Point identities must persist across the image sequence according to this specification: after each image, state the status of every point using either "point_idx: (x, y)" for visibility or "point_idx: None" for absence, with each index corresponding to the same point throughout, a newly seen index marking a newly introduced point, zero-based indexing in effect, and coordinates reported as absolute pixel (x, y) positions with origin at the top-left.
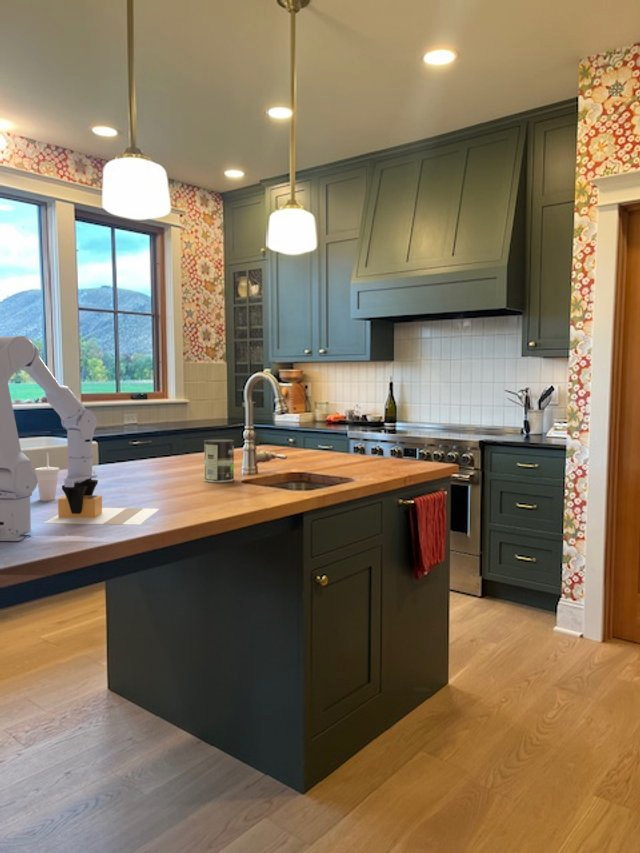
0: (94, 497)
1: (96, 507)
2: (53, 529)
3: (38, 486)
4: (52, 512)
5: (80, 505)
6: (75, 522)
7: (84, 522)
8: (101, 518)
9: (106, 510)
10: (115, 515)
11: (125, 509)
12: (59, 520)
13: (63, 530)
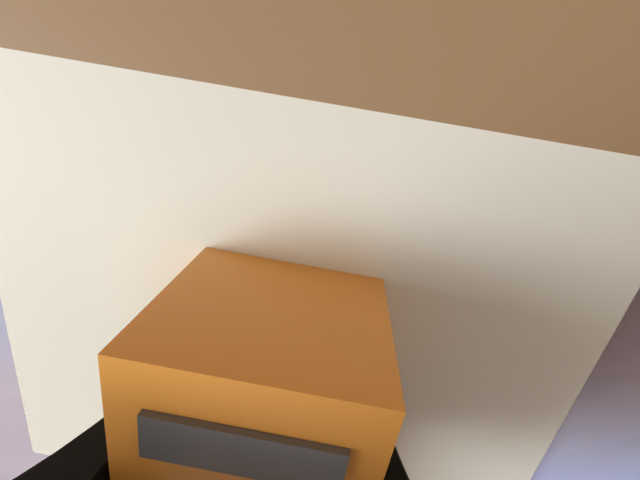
0: (247, 426)
1: (341, 318)
2: (567, 464)
3: None
4: None
5: (404, 473)
6: (544, 388)
7: (571, 330)
8: (434, 219)
9: (92, 225)
10: (311, 101)
11: (10, 38)
12: (445, 477)
13: (622, 415)
